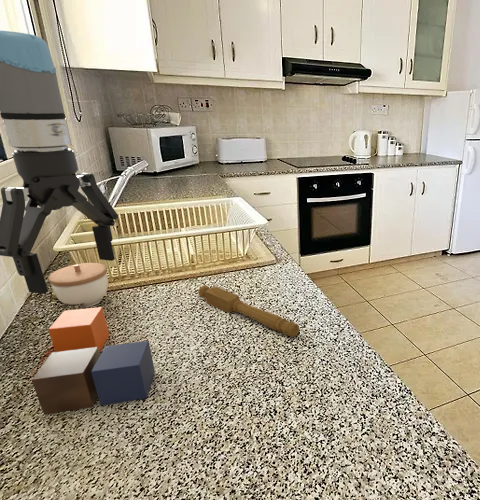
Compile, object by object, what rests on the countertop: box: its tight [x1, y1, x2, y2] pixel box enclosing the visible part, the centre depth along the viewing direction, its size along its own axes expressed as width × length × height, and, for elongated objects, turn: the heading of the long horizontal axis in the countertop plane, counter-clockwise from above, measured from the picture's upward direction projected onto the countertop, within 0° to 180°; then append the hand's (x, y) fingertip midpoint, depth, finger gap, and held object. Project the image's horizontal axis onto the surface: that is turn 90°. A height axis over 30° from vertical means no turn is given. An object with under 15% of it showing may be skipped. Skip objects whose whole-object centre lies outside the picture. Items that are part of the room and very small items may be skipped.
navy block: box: [91, 340, 156, 406], centre depth 60 cm, size 6×6×6 cm
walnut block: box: [31, 347, 101, 415], centre depth 58 cm, size 6×6×6 cm
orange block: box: [48, 306, 110, 352], centre depth 70 cm, size 6×6×6 cm
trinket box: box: [48, 262, 109, 309], centre depth 85 cm, size 11×11×9 cm
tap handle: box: [197, 285, 300, 338], centre depth 83 cm, size 3×3×30 cm
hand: (76, 274), depth 65 cm, fingers open, 13 cm apart
